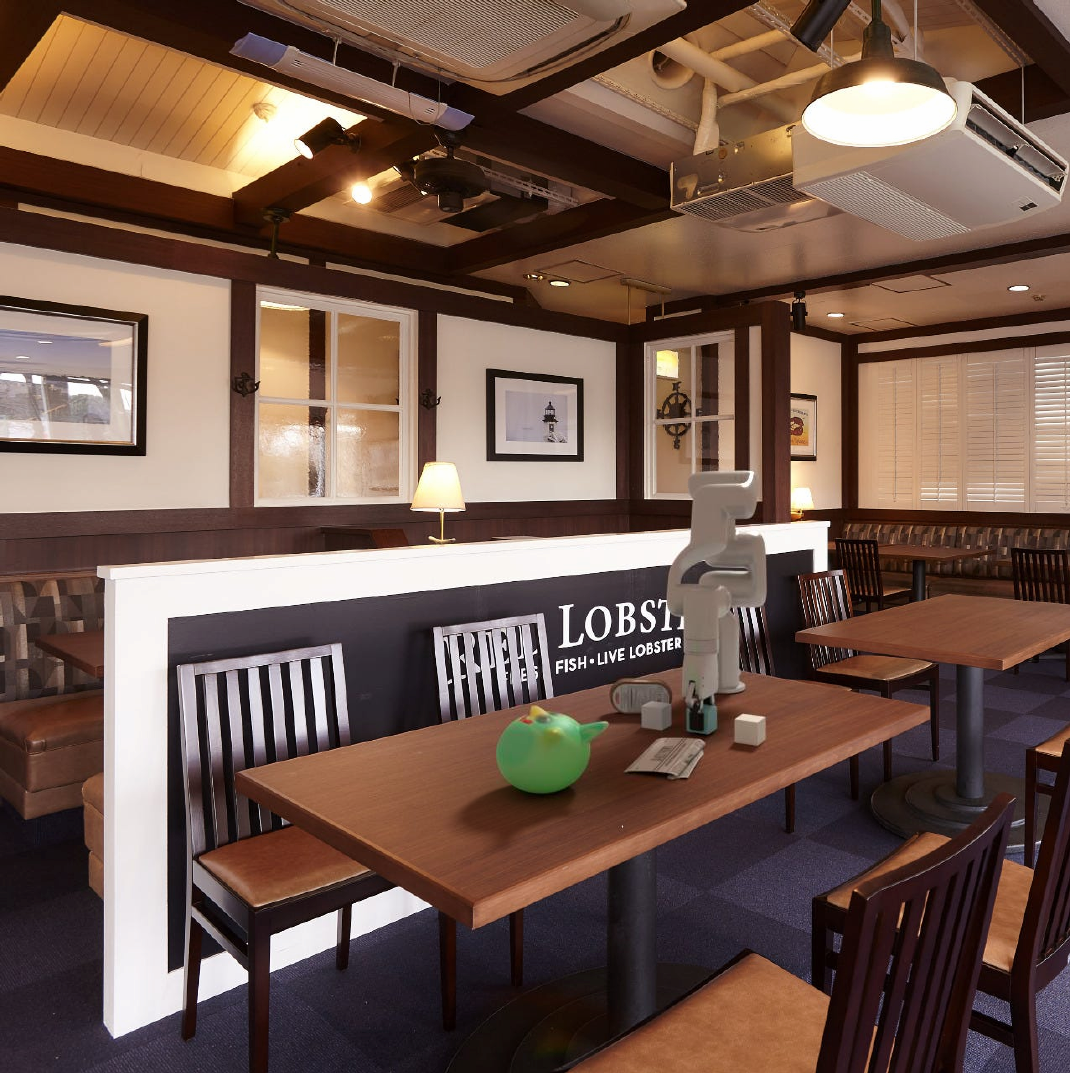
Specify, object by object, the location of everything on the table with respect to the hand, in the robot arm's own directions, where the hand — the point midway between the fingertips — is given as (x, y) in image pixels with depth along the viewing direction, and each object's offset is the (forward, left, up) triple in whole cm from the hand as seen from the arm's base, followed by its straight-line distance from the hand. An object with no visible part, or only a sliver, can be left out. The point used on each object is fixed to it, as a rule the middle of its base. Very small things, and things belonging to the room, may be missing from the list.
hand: (701, 726), depth 188 cm
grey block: (0, -11, -2) cm, 11 cm away
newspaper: (+20, +2, -2) cm, 20 cm away
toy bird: (+47, -10, -2) cm, 48 cm away
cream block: (0, +11, -2) cm, 11 cm away
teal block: (0, 0, -1) cm, 1 cm away
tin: (-8, -19, -2) cm, 21 cm away
